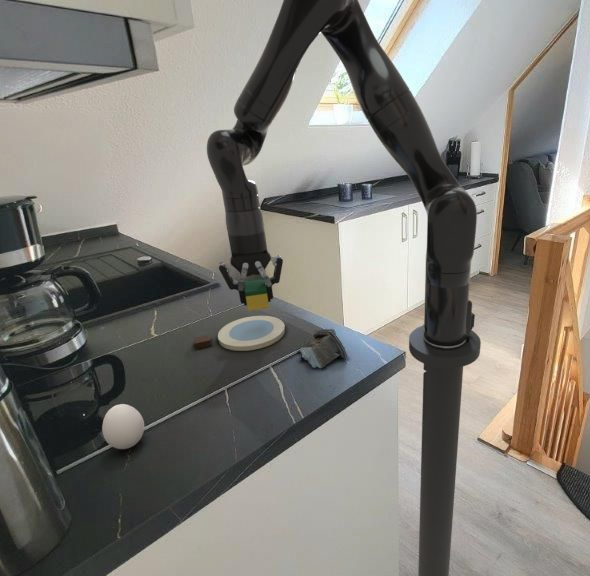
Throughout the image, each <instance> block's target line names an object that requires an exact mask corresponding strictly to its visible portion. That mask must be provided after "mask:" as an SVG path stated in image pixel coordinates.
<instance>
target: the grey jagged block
mask: <svg viewBox="0 0 590 576" xmlns="http://www.w3.org/2000/svg"><path fill="white" fill-rule="evenodd" d="M336 333H337V332H336V331H335V330H334V329H333V328H329V329H328V328H326V329H325V328H324V329H319V330H317V329H315V330H314V333H313V338H314V339H313V340H311V341H310V342H309V343H307V344H305V345H303V346H302V347H300V349H299V352H300V354H301V357H300V360H301V361H307V362H308V364H309V365H310V366H311V367H312V368H319V369H323V368H325V367H326V366H327V365H328V364H330V363H331V362H333V361H334V360H335V359H337V358H338V357H339V358H348V353H347V351H346V347H344V344H343V343H342V341H341V339H340V338H339V337H338V335H337V334H336Z"/></svg>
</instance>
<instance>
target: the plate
mask: <svg viewBox="0 0 590 576" xmlns="http://www.w3.org/2000/svg"><path fill="white" fill-rule="evenodd" d="M285 332H286V326H285V323H284V321H282V320H281V319H280V318H278V317H276V316H275V317H274V316H271V315H253V316H247V317H241V318H239V319H236V320H233V321H231V322H228V323H227V324H225V325H224V326H223V327H221V329H220V330H219V331H218V333H217V340H218V344H219V345H220V346H221V347H222V348H224V349H227V350H229V351H234V352H235V351H236V352H247V351H249V352H250V351H255V350H259V349H263V348H267V347H269V346H271V345H273V344H275V343H277V342H278V341H279V340H281V339H282V337H283V336H284V335H285Z"/></svg>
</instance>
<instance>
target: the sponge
mask: <svg viewBox="0 0 590 576" xmlns="http://www.w3.org/2000/svg"><path fill="white" fill-rule="evenodd" d="M265 285H266V284H265V282H264V280H263V278H261V279H253V280H246V281H245V286H244V287H245V295H246V301H247V306H246V308H247V311H248V312H250V311H251V312H252V311H257V310H265V309H269V308H270V304H269V302H268V297H267V290H266V286H265Z"/></svg>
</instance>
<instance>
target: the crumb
mask: <svg viewBox="0 0 590 576" xmlns="http://www.w3.org/2000/svg"><path fill="white" fill-rule="evenodd" d="M209 335H210V334H204V335H200V336H196V337H194V345H195V349H196V350H199V349H203V348H207V347H211V346H212V344H211V339H210V336H209Z"/></svg>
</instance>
